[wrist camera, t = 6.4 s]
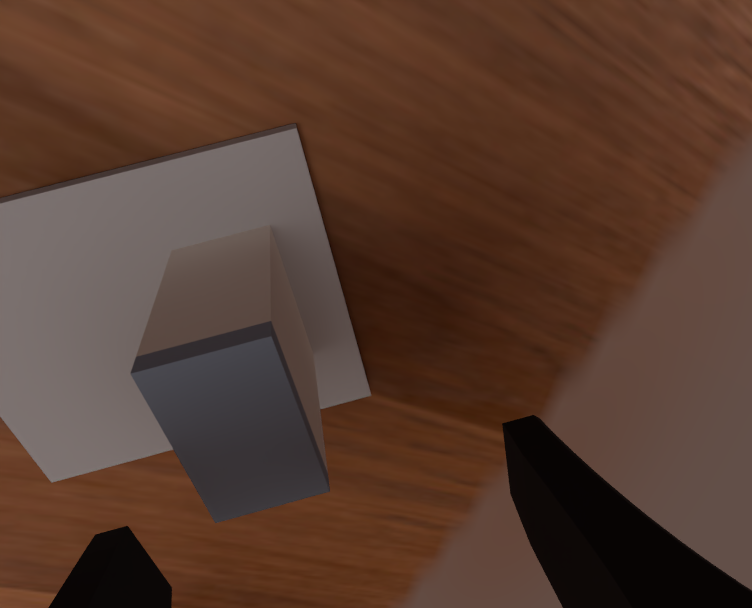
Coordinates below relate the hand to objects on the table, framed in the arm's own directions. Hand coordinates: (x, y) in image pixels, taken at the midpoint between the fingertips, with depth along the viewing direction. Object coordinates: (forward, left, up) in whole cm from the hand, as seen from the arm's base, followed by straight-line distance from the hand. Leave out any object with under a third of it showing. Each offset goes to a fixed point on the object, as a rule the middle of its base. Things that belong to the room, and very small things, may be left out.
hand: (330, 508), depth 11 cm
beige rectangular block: (+2, 0, -9) cm, 9 cm away
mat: (+5, 0, -9) cm, 11 cm away
